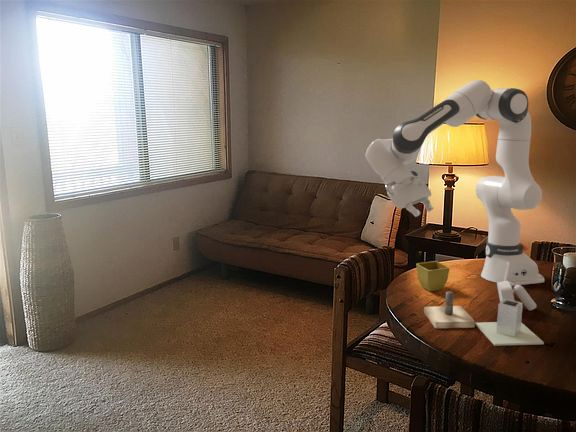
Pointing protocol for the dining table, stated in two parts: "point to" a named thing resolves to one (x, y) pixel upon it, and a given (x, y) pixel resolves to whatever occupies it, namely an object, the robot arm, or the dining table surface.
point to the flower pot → (432, 275)
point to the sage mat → (499, 339)
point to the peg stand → (449, 315)
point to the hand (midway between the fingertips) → (424, 212)
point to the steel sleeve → (509, 317)
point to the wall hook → (507, 293)
